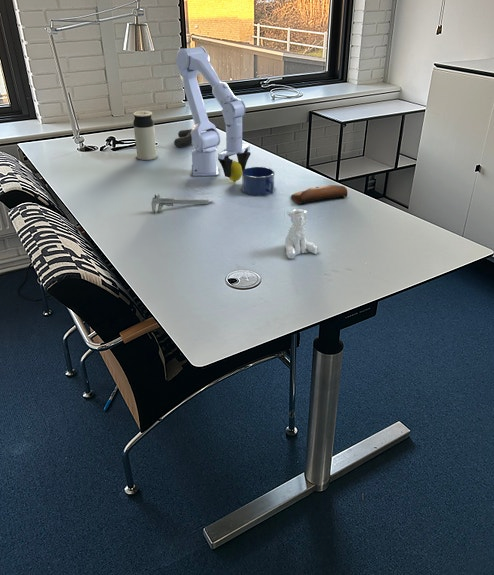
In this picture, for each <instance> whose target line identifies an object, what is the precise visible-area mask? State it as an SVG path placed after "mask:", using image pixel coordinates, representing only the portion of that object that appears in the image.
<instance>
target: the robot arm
mask: <svg viewBox="0 0 494 575" xmlns="http://www.w3.org/2000/svg"><path fill="white" fill-rule="evenodd" d="M175 63H176V66H177V70H178V72H179V76H180V80H181V83H182V86H183V90H184V93H185V96H186V100H187V103H188V107H189V110H190V113H191V118H192V120H193V124H194V126H193V128H191V129H192V131H191V136H192V144H191V145H192V147H193V149H192V150H191V170H192V176H193V177H205V176H206V177H207V176H208V177H210V176H212V177H213V176H219V168H218V166H217V165H218V164H217V160H218V162H219V163H220V166H221V168H222V171H223V174H224V177H225V178H229V177H230V176H231V165H232V162H233V161H234V159H232V158H231V157H232V156H235V155H236V157H237V162H238V163H239V164H240V165H241V167H242V171H243V170H244V169H246V166H247V163H248V160H249V158H250V157H251V154H252V152H251V145H250V144H247V143H245V144H243V117H244V116H245V115H246V111H247V107H246V104H245V103H244V101H243V100H242V99H240V98H238V97H236V96H235V94H234V93H233V91H232V90H231V88H230V87H229V85H228V83H227V82H224V81H221V80H220V77H219V76H218V74H217V73H216V71H215V69H214V68H213V66H212V64H211V62H210V54H209V53H208V51H207V49H206V48H205V47H204V46H201V45H199V46H194V47H187V48H183V47H182V48H179V49H178V50H177V53H176V56H175ZM199 74H201V75H202V76H203V78H204V79H205V80H206V82H207V83H208V85H210V87H212V88H211V89H212V91H211V92H212V95H213V97H214V98H215V99H216V101H217V102H218V104H219V105H220V107H221V108H222V109H221V115H222V117H223V120H224V121H223V122H224V124H225V148H224V149H223V150H222V151H219V152H218V153H217V150H218V147H219V145H220V144H221V139H222V138H221V135H220V133H219V131H218V130H217V127H216V124H214V123H212V122H211V121H210V120H209V117H208V113H207V109H206V105H205V103H204V99H203V96H202V92H201V89H200V86H199V82H198V79H197V77H198V76H199ZM217 155H218V156H217Z"/></svg>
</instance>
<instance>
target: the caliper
mask: <svg viewBox="0 0 494 575" xmlns="http://www.w3.org/2000/svg"><path fill="white" fill-rule="evenodd" d="M210 203H211V204H212V203H213V201H212V200H210V199H208V198H174V197H170V196H169V197H167V196H165V197H164V196H161V195H160V194H159V193H158V194H156V193H154V197H152V199H151V212H152V213H153V214H155V213H156V208H157V213H158V214H160V213H161V211H162V210H163V207H164V206H166V207H174V205H209V204H210Z"/></svg>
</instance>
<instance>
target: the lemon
mask: <svg viewBox="0 0 494 575" xmlns="http://www.w3.org/2000/svg"><path fill="white" fill-rule="evenodd" d="M228 179H229V180H230V181H232V182H233V183H236V182H238V181H239V180H241V179H242V167H241V165H240V164H239V163H238V161H236V160H233V162H232V165H231V176H230V177H228Z"/></svg>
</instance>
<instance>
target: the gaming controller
mask: <svg viewBox="0 0 494 575" xmlns="http://www.w3.org/2000/svg"><path fill="white" fill-rule="evenodd" d="M192 129H193V128H190V129H182V130H178V133H177V136H178V138H175V139H174V142H173V145H174V146H175V147H176V148H183V147H187V146H190V145H192V136H191V131H192Z"/></svg>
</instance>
